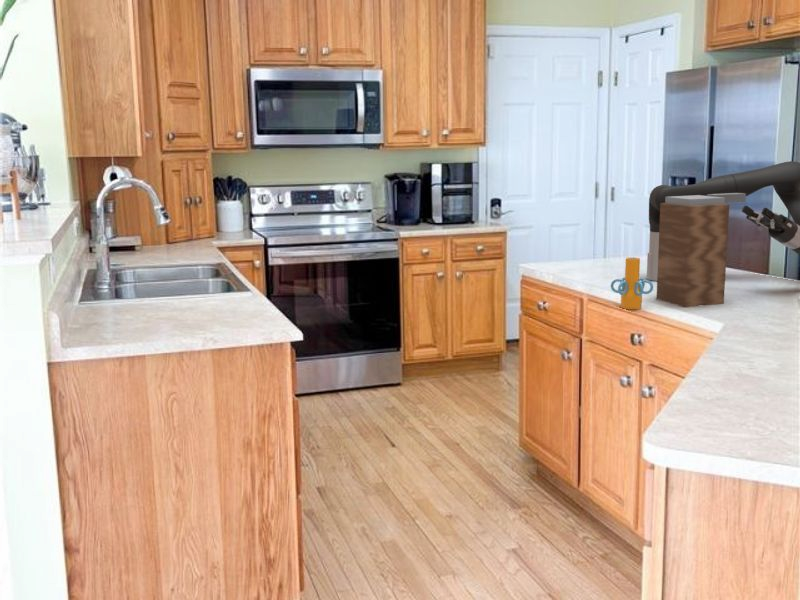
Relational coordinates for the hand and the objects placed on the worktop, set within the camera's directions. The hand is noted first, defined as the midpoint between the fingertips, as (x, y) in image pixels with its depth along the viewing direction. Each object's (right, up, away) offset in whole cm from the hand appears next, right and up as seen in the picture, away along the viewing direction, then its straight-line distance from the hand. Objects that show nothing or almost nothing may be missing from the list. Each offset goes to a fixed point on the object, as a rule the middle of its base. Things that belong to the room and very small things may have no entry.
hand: (753, 209), depth 251 cm
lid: (-16, +1, -5) cm, 17 cm away
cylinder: (-41, -31, -9) cm, 52 cm away
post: (-20, -29, -1) cm, 35 cm away
